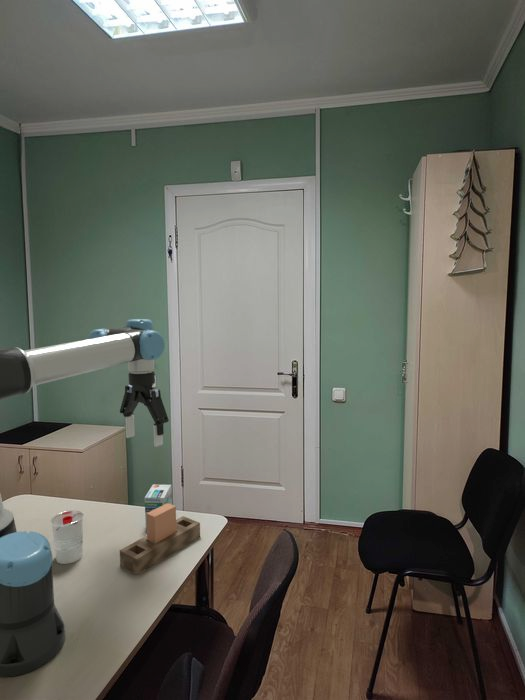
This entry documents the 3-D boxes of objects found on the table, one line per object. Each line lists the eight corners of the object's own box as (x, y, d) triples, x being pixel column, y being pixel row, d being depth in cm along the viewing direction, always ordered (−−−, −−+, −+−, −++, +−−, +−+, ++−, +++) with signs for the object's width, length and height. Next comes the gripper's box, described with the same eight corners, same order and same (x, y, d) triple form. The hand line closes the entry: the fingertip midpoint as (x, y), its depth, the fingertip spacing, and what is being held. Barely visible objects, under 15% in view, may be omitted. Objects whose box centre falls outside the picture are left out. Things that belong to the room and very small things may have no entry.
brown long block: (137, 575, 120) (136, 559, 119) (120, 565, 124) (119, 550, 124) (200, 536, 139) (199, 522, 139) (183, 529, 143) (183, 516, 143)
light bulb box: (165, 529, 143) (164, 497, 142) (144, 529, 143) (143, 497, 142) (173, 513, 154) (172, 483, 153) (153, 513, 154) (152, 483, 153)
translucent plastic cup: (72, 569, 123) (69, 527, 121) (44, 565, 124) (42, 524, 123) (92, 549, 132) (90, 510, 131) (67, 546, 134) (65, 508, 133)
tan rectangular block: (155, 556, 127) (154, 516, 126) (147, 552, 129) (146, 513, 128) (176, 544, 134) (175, 506, 132) (168, 540, 136) (167, 503, 135)
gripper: (179, 374, 128) (181, 445, 130) (127, 366, 143) (129, 430, 145) (158, 377, 122) (160, 453, 124) (106, 369, 137) (109, 436, 140)
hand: (144, 441), depth 135 cm, fingers open, 13 cm apart
